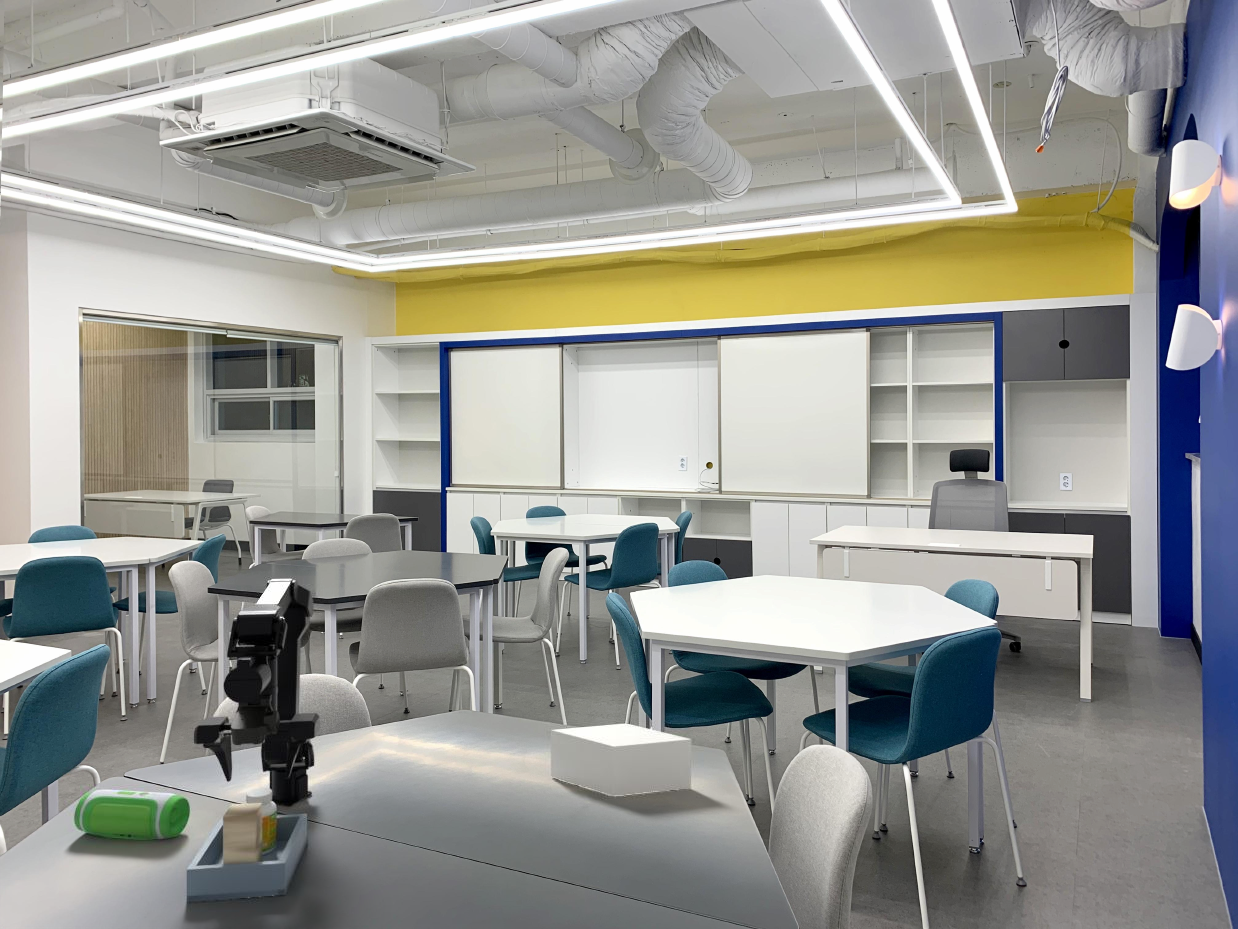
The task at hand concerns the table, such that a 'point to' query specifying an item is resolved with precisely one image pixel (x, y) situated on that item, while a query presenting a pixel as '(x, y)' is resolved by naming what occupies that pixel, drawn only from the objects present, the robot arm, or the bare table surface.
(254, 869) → the tote
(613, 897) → the table surface
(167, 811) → the speaker
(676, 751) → the white rectangular block
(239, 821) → the tall ash block
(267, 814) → the supplement bottle
